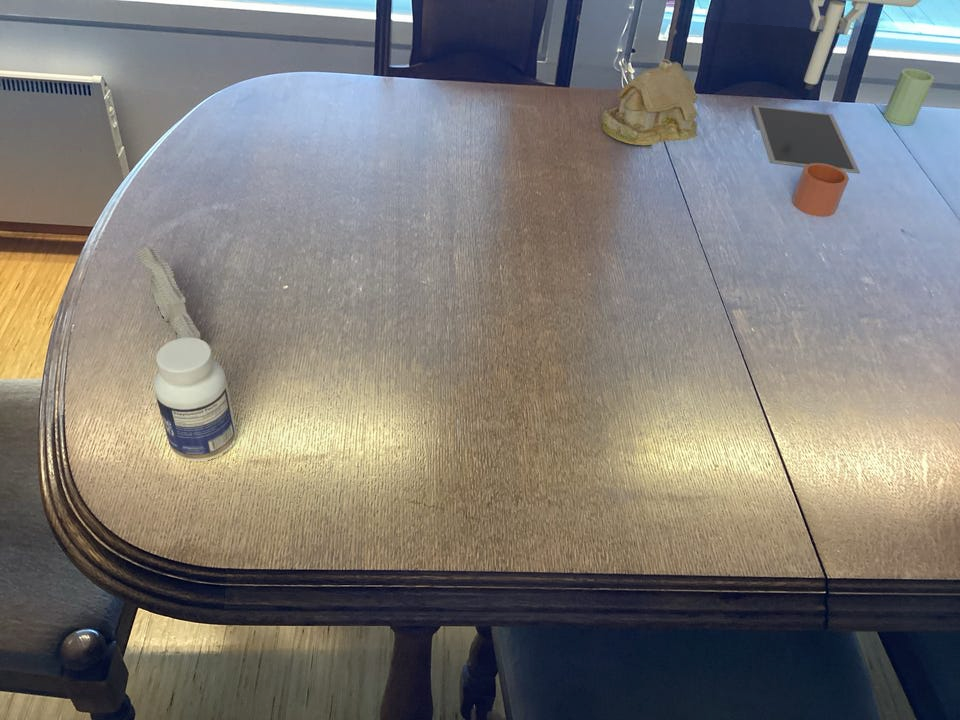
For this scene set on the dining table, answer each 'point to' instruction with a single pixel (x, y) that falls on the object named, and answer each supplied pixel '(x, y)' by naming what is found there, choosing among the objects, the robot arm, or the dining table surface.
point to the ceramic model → (654, 107)
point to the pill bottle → (193, 400)
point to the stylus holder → (820, 189)
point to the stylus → (823, 43)
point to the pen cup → (908, 96)
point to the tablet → (802, 138)
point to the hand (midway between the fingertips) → (827, 31)
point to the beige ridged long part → (168, 293)
